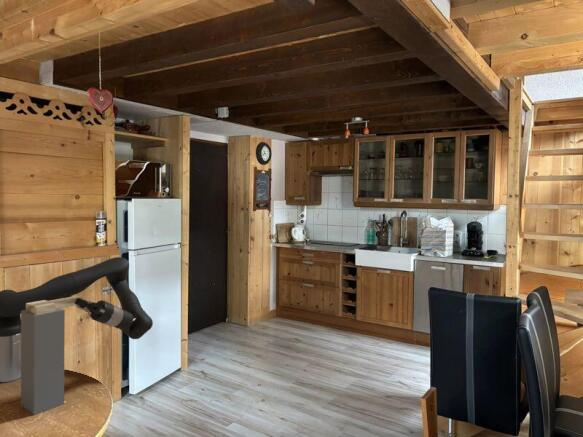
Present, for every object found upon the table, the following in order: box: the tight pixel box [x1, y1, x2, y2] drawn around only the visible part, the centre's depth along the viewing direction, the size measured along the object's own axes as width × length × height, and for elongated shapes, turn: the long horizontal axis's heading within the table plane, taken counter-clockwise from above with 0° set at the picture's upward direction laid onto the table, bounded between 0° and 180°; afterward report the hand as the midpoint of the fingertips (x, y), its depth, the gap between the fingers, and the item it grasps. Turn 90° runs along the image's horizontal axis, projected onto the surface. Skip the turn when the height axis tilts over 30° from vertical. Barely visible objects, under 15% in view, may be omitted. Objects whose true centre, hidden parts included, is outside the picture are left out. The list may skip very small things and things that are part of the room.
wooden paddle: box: [26, 295, 84, 315], centre depth 147 cm, size 7×16×2 cm, turn 145°
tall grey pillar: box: [20, 308, 66, 416], centre depth 144 cm, size 9×10×32 cm
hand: (69, 298), depth 151 cm, fingers open, 7 cm apart
